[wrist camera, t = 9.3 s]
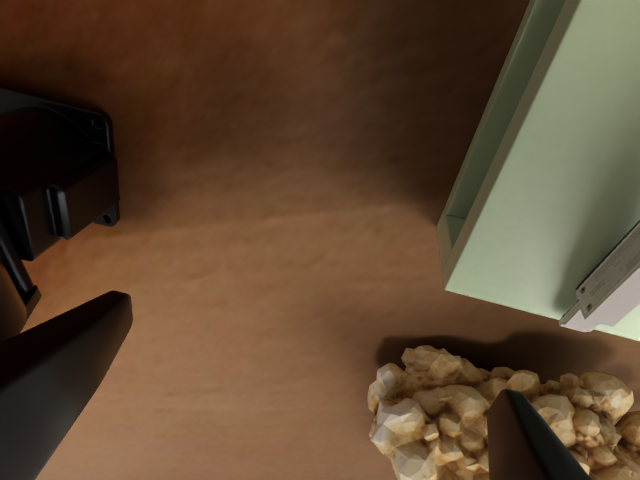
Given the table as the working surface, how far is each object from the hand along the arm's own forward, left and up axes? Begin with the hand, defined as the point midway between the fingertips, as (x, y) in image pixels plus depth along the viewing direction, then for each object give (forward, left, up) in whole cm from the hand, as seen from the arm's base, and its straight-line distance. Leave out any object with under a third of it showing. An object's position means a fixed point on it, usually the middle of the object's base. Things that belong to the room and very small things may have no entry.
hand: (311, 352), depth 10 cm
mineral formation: (+13, -13, -12) cm, 21 cm away
